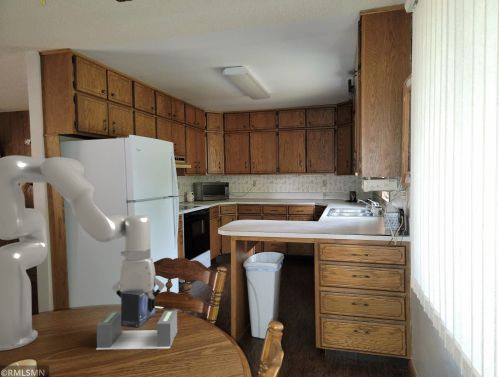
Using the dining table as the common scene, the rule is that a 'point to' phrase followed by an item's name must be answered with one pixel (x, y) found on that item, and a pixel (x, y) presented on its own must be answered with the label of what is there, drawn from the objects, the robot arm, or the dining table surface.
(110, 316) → the block
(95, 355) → the dining table surface
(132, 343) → the rail board
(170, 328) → the block
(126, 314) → the small box
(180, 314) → the dining table surface
